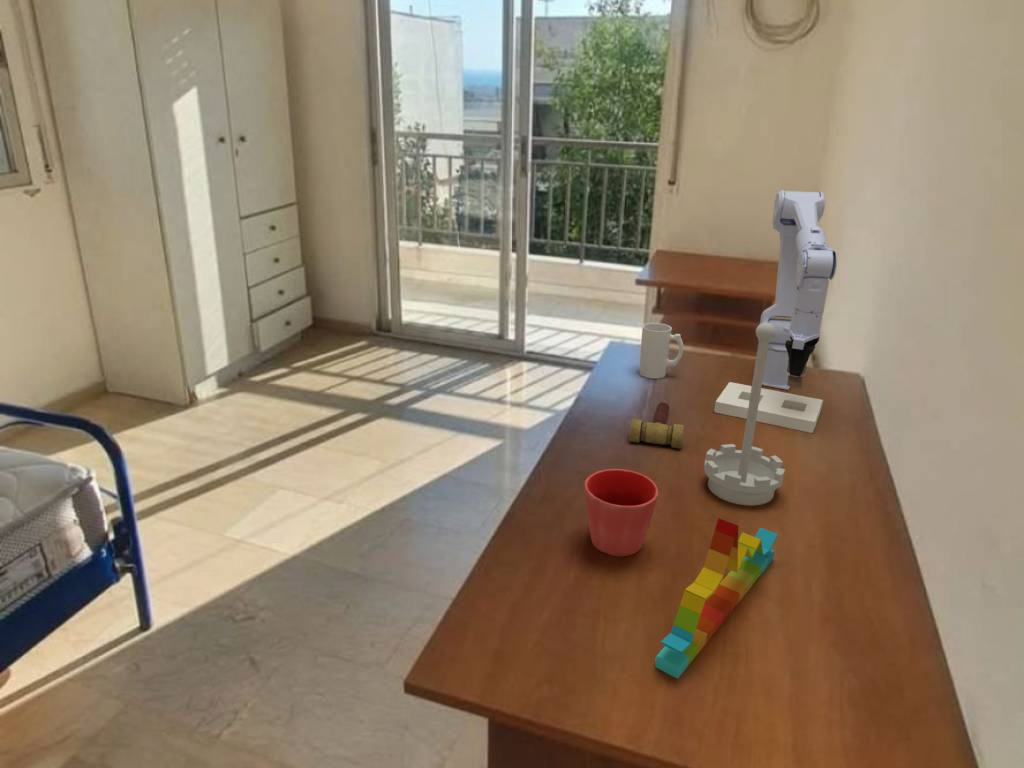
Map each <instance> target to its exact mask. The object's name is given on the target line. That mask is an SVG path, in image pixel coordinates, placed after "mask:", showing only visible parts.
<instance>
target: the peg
mask: <svg viewBox="0 0 1024 768" xmlns="http://www.w3.org/2000/svg"><path fill="white" fill-rule="evenodd" d="M807 364H808V361H807V362H806V364H805V367H804V370H803V372H802V375H801V376H800V377H798V376H792V375H790V372H789V359H788V366H787V374H788V381H787V385H788V386H790V388H801V387H802V383H803V378H804V377H806V373H807V372H806V371H807Z"/></svg>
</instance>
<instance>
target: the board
mask: <svg viewBox="0 0 1024 768" xmlns="http://www.w3.org/2000/svg"><path fill="white" fill-rule="evenodd" d="M751 388H752V385H749V384H747V385H746V384H742V383H738V382H731V381H729V382H728V383H727V385H726V386H725V387H724V389H723V391H722V392H721V393H720V394H719V396H718V397H717V399H716V400H715V402H714V410H713V411H714V413H717V414H721V415H725V416H730V417H736V418H741V419H744V420H747V413H748V407H749V401H750V394H751ZM823 402H824V400H823V399H820V398H815V397H809V396H804V395H798V394H794V393H788V392H784V391H783V392H782V391H778V390H773V389H768V388H763V387H761V393H760V399H759V405H758V412H757V418H756V422H757V423H764V424H768V425H773V426H777V427H783V428H787V429H791V430H796V431H800V432H804V433H809V434H813V433H814V431H815V429H816V426H817V423H818V420H819V416H820V413H821V412H822V407H823Z"/></svg>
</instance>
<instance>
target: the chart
mask: <svg viewBox="0 0 1024 768" xmlns="http://www.w3.org/2000/svg"><path fill="white" fill-rule="evenodd" d="M777 538H778V533H775V532H773V531H770V530H768V529H765V528H762V527H759V529H758V531H757V532H756V534H755V536H754V535H751V534H749V533H745V532H743V531H742V533H741V534H740V536H739V525H737V524H736V523H733V522H730V521H727V520H725V519H722V518H720V517H718V518H717V522H716V526H715V529H714V532H713V535H712V538H711V541H710V545H709V548H708V552H707V556H706V558H705V561H704V564H703V568H702V569H701V571H700V573H699V574H698V576H697V577H696V579H695V580H694V581H693V582H692V583H691V584H690V585H689V586H688V587H686V588H685V589H684V592H683V595H682V598H681V601H680V605H679V607H678V610H677V613H676V617H675V619H674V622H673V624H672V628H671V631H670V633H669V634H668V635H666V636H665V637H664V638H663V639H662V640H661V641H660V645H662V646H664V647H663V648H662V649H661V650H660V651H659V653H658V654H657V655H656V656H655V659H654V662H655V664H654V665H655V666H654V667H655V668H656V669H658V670H660V671H662V672H664V673H666V674H667V675H670V676H671V677H673V678H676V679H677V680H678V679H679V678H680V677H681V675H683V673H684V672H685V670H687V668H688V667H689V665H690V664H691V663H692V662H693V660H694V659H695V658H696V657H697V656H698V654H699V653H700V652H701V650H702V649H704V646H705V645H706V644H707V643H708V642H709V640H710V639H711V638H712V637H713V635H714V634H715V633H716V631H717V630H718V629H719V628H720V626H722V624H723V623H724V622H725V621H726V619H727V618H728V617H729V615H730V614H731V613H732V612H733V610H734V609H735V608H736V606H737V605H739V603H740V602H741V601H742V599H743V598H745V597H744V596H745V595H746V594H747V593H748V592H749V591H750V589H751V588H752V587H753V585H754V584H755V583H756V581H757V580H758V579H759V578H760V576H761V575H762V574H763V573H764V572H765V570H766V569H767V568H768V566H770V564H771V563H772V562H773V560H774V557H775V549H772V548H773V546H774V544H775V541H776V539H777ZM726 569H727V570H728V571H729V570H730V572H728V573H727V575H726V576H725V573H726ZM724 576H725V577H724Z"/></svg>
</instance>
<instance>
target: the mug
mask: <svg viewBox="0 0 1024 768" xmlns="http://www.w3.org/2000/svg"><path fill="white" fill-rule="evenodd" d="M641 330H642V331H641V344H640V358H639V359H640V360H639V374H640V376H642V377H644V378H647V379H652V380H653V379H654V380H655V379H657V380H658V379H662V378H665V377H666V375H667V374H666V373H667V368H668V367H677V365H678V364H679V362H680V360H681V358H682V356H683V354H684V349H685V348H684V343H683V339H682V337H681V334H680V333H675V334H672V326H670V325H668V324H665V323H662V322H661V323H659V322H648V323H644V324H643V325H642V329H641ZM672 341H675V342H676V343H677V345H678V352H677V355H676V357H675V358H674V359H669V349H670V343H671V342H672Z"/></svg>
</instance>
